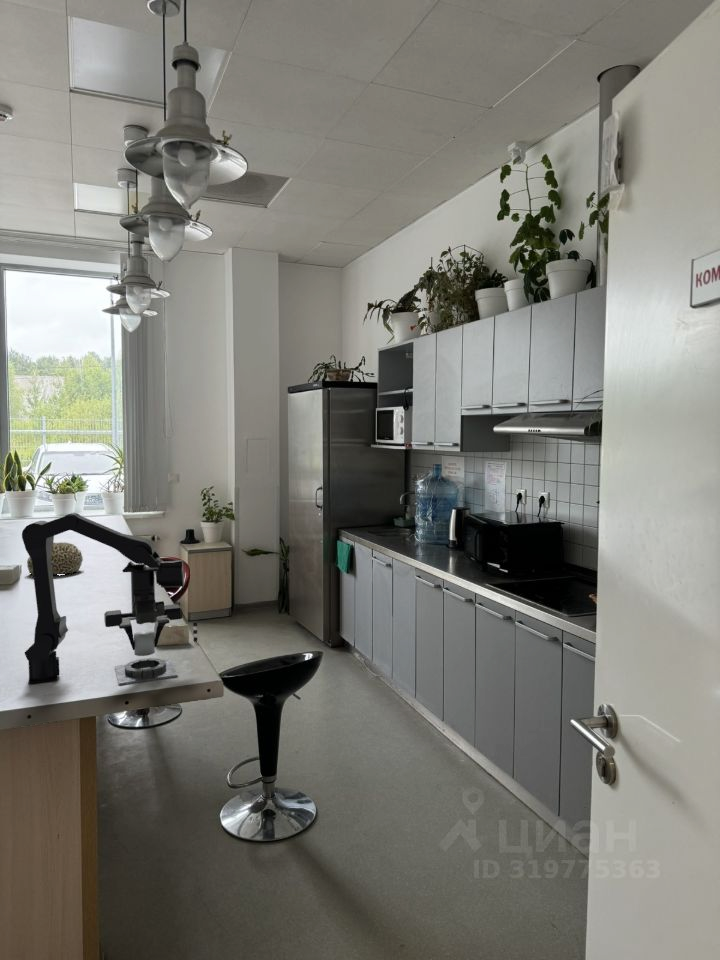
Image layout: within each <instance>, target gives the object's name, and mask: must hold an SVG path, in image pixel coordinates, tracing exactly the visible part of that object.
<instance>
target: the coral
mask: <svg viewBox="0 0 720 960" xmlns="http://www.w3.org/2000/svg"><path fill="white" fill-rule="evenodd" d="M83 560H84V559H83V554H82V552H81V549H79V548H78V547H77V546H76V545H74V544H72V543H69V542H61V541H60V542H53V547H52V552H51V564H52V573H53V575H56V574H67V573H70V574H74V573H73V572H77V571H78V572H79V570H80V569H81V566H82V562H83ZM26 561H27V562H26V564H27V565H26V566H27V569H28V571H29V573H31V574H33V568H32V561H31V558H30V556H29V557H28V558H27V560H26ZM78 572H77V573H78ZM29 573H28V574H29Z"/></svg>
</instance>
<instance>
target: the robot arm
mask: <svg viewBox="0 0 720 960" xmlns="http://www.w3.org/2000/svg"><path fill="white" fill-rule="evenodd" d="M68 531H72V532H74V533H77V534H79V535H82V536H84V537H87V538H89V539H91V540H94V541H96V542H98V543H101V544H104V545H106V546H108V547H111V548H113V549H115V550H116V551H117V552H119V553H120V554H121V555H123V556H124V557H126V559H129V560H130V561H129V562H128V563H127V565H126V566H125V567H124V568H123V569H122V573H130V590H131V593H130V594H131V612H124V613H122V611H121V609H118V610H106V611H105V612H104V614H103V615H104V616H103V617H104V618H103V619H104V626H105V628H113V627H118V628H119V630H121V629H123V630H124V631H125V633H126V635H127V637H128V640H129V643H130V646H131V648H132V650H133V651H134V650H135V644H134V632H133V627H132V623H131V621H135V623H136V624H137V625H143V624H148V623H149V624H150V623H151V624H154V627H155V631H154V630H153V632H154V639H155V648H156V647H157V643H158V640H159V637H160V634H161V631H162V629H163V627H164V626H165V625H167V624H170V622H171V621H175V620H181V619H183V609H182V608H181V606H180V605H179V604H166V605H165V602H164V600H163V601H156V590H155V586H156V585H155V582H156V584H158V586H160V588H180V587H183V588H184V586H185V581H186V580H185V578H186V577H185V575H186V573H185V570H184V561H183V560H182V559H179V560H168V561H167V560H166V561H164V560H163V559H162V557H161V555H159V553H158V552H157V551H156V548H155V544H154V542H153V541H152V540H150V539H149V538H146V537H143V536H142V537H141V536H138V535H130V534H126V533H122V532H120V531H118V530H115V529H113V528H110V527H107V526H105V525H103V524H100V523H98V522H96V521H93V520H91V519H88V518H87V517H84V516H82V515H81V514H79V513H76V512H70V513H68V514H66V515H64V516H60V517H59V518H55V519H53V520H50V521H46V520H38V521H35V522H32V523H30V524H28V525H26V526H25V527H24V528H23V530H22V533H21V539H22V542H23V545H24V548H25V551H26V553H27V555H28V556H29V557H30V558H31V561H32V568H33V575H32V577H33V583H34V592H35V601H36V610H37V619H36V624H35V628H34V639H33V641H34V643H33V644H31V645H30V647H29V648H27V650H25V651H24V656H25V658H26V660H27V661H28V681H27V683H28V685H33V684H39V683H47V682H54V681H58V677H59V676H60V657H59V656H57V649H58V646H59V645H60V644H61V643H62V642H63V641H64V639H65V638H66V635H67V633H68V631H69V629H68V627H67V616H66V615H64V616H61V614H59V612H58V608H57V600H56V591H55V582H54V574H53V573H52V564H51V552H52V547H53V543H54V540H55V539H54V538H55V536H57V535H59V534H62V533H65V532H68ZM135 563H136V564H135ZM155 579H156V580H155Z"/></svg>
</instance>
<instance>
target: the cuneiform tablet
mask: <svg viewBox="0 0 720 960" xmlns="http://www.w3.org/2000/svg"><path fill="white" fill-rule="evenodd" d="M192 624H193V625H192V626H193V628H192V631H193V632H192V633H193V642H197V641H198V622H197V621H196V622H193V623H192ZM189 627H190V625H189V624H187V623H185V624H171V625H167V624H165V626H164V627H163V629H162V631H161V634H160V637H159V640H158V643H157V646H159V647H160V646H173V645H176V646H177V644H178V645H188V644H190V628H189ZM154 631H155V626H154V628H153V632H154ZM157 646H156V647H157Z"/></svg>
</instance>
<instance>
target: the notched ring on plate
mask: <svg viewBox="0 0 720 960" xmlns="http://www.w3.org/2000/svg"><path fill="white" fill-rule="evenodd" d="M114 670H115V673H116V678H117V683H118V686H124V685H131V684H139V683H143V682H152V681H159V680H164V679H171V678H177V677H179V676H178V672H177V671H176V669H175V666H174V665H173V663H172V661H171V658H164V659H162V658H161V659H160V658H155V657H154V658H153V657H152V658H151V657H149V658H141V659H140V658H139V659H135V660H133V661H129V662H127V663H126V664H119V665H114Z"/></svg>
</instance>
